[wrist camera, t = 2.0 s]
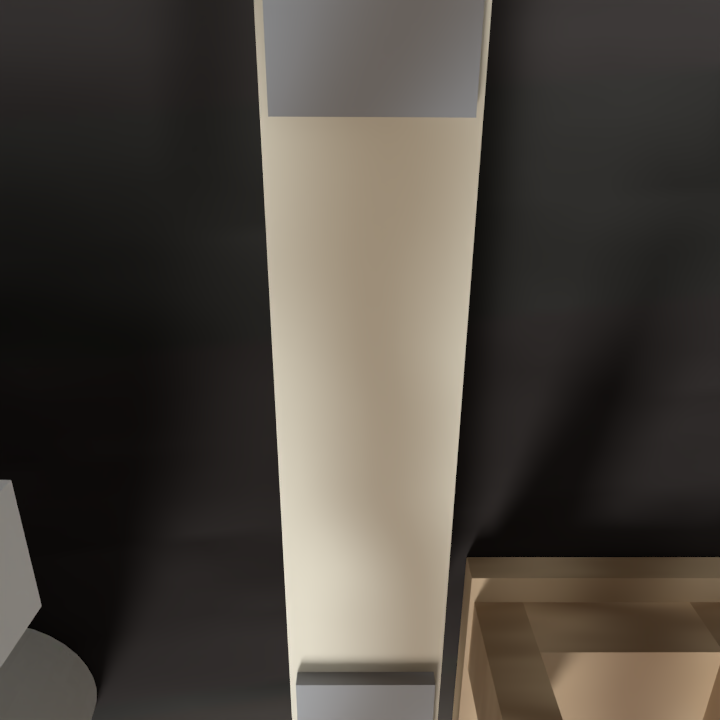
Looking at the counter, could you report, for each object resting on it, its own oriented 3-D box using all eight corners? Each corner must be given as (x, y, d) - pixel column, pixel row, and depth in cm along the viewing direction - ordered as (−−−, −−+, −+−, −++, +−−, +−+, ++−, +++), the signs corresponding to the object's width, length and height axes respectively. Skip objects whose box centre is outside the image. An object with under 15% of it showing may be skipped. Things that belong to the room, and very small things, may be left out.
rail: (307, 618, 22) (292, 768, 17) (283, -32, 14) (243, -109, 9) (417, 618, 22) (436, 768, 17) (453, -31, 14) (505, -108, 9)
